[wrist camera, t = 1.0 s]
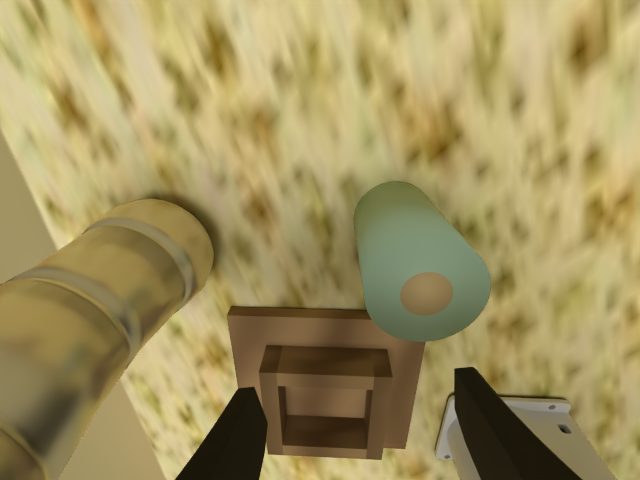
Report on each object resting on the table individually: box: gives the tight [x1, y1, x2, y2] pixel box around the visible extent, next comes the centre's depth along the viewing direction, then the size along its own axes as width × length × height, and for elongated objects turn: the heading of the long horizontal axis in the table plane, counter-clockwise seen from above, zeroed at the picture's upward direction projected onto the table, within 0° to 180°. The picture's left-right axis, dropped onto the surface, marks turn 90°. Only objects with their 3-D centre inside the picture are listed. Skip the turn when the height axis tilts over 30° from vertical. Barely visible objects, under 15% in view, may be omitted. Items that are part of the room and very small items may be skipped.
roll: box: [354, 182, 491, 342], centre depth 16 cm, size 5×5×8 cm
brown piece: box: [227, 307, 425, 460], centre depth 24 cm, size 14×14×4 cm
